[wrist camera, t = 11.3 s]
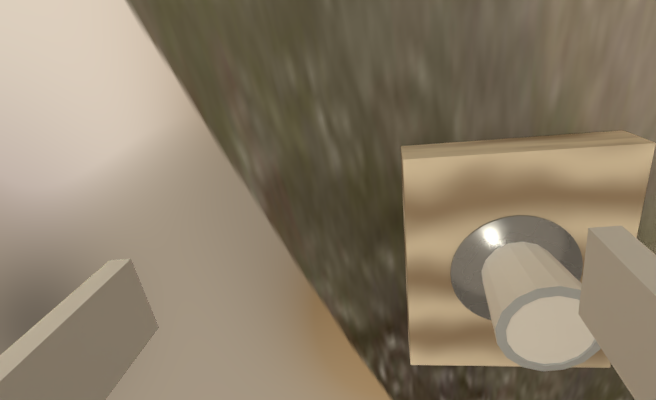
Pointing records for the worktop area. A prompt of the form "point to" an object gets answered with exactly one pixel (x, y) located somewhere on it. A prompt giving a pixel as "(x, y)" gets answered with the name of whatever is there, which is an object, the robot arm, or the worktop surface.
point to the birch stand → (505, 225)
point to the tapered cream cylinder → (536, 308)
